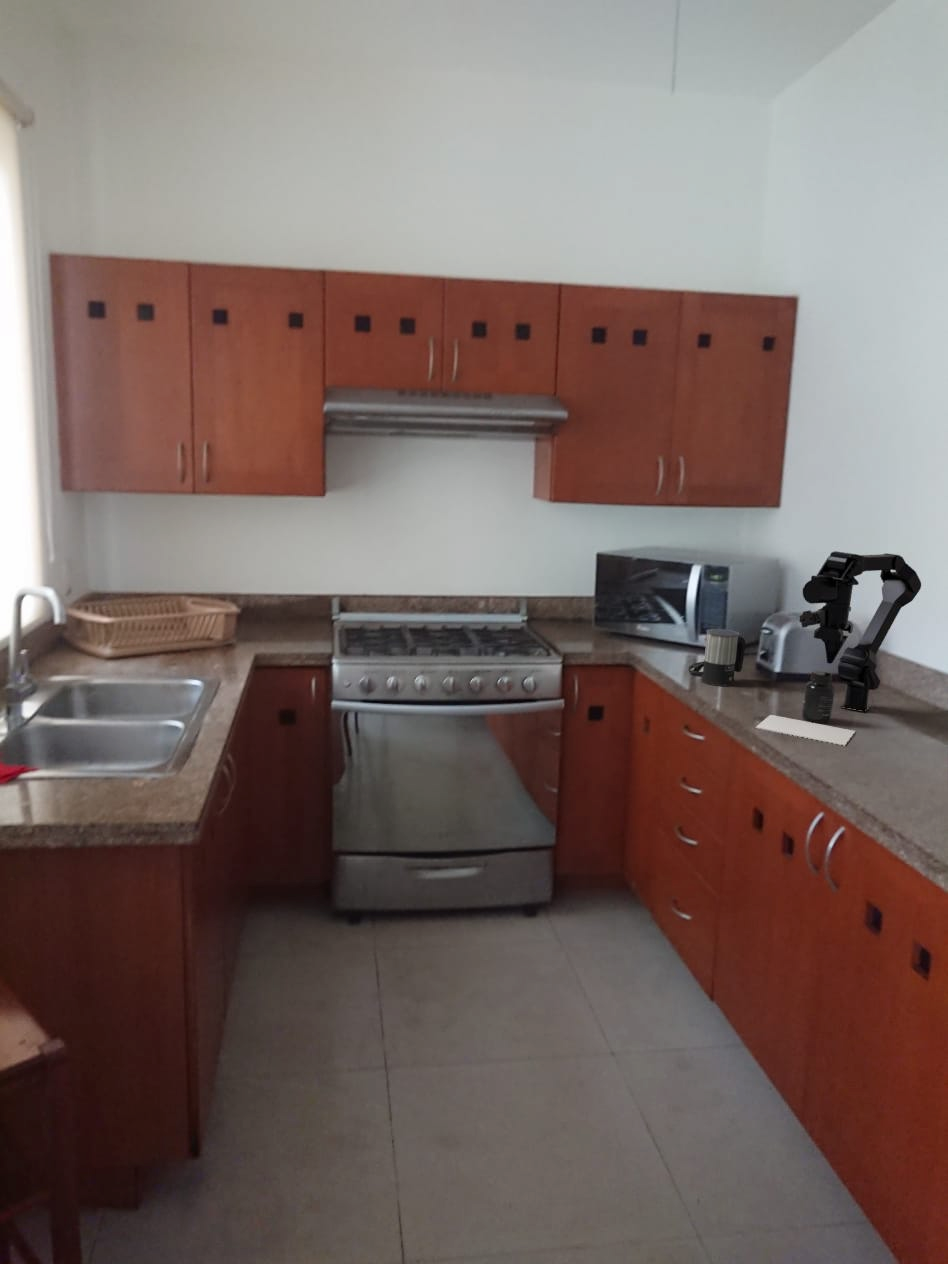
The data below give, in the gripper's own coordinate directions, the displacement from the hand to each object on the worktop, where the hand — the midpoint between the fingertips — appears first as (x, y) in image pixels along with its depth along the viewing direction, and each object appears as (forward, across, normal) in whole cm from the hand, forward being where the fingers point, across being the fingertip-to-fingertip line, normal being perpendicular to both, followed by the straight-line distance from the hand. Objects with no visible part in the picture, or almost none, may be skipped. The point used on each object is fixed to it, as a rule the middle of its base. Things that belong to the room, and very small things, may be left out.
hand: (829, 663), depth 233 cm
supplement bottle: (+13, +9, 0) cm, 16 cm away
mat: (+13, +20, 0) cm, 24 cm away
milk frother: (+13, -15, -34) cm, 40 cm away
